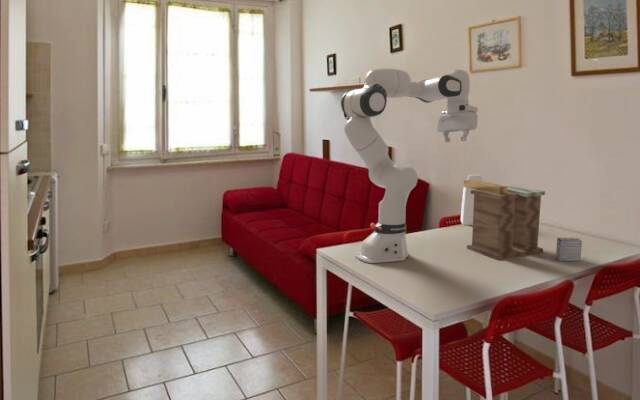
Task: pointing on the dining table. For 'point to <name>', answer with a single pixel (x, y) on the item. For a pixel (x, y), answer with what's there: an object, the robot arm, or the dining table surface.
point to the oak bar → (485, 186)
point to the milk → (468, 202)
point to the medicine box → (568, 249)
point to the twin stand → (506, 222)
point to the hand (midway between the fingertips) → (455, 141)
